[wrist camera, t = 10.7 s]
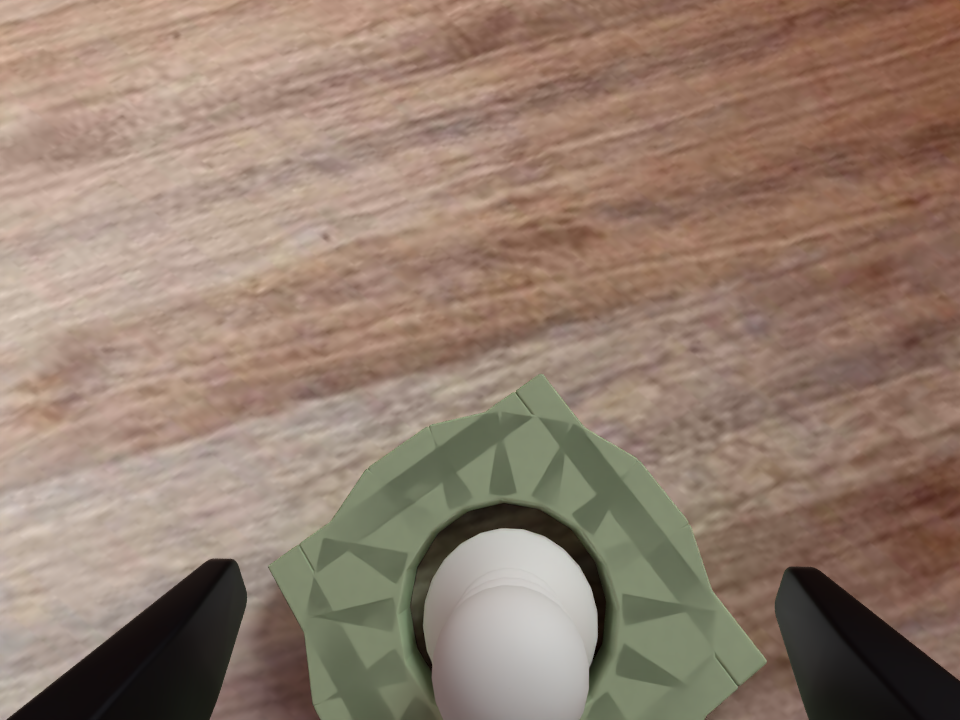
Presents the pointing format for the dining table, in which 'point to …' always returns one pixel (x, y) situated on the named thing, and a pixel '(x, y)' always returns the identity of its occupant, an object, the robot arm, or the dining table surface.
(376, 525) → the pad
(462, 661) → the chess pawn
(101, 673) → the robot arm
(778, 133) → the dining table surface
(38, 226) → the dining table surface
